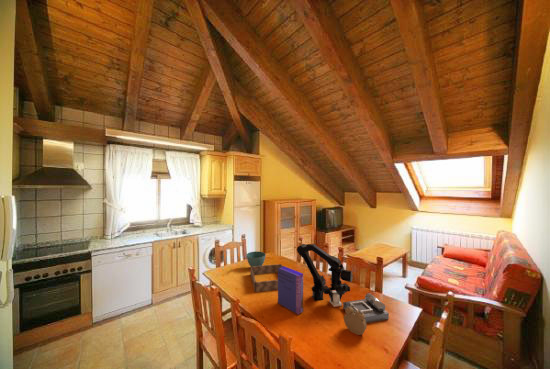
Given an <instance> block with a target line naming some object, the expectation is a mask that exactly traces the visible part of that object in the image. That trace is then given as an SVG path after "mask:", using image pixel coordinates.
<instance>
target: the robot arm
mask: <svg viewBox="0 0 550 369" xmlns="http://www.w3.org/2000/svg"><path fill="white" fill-rule="evenodd" d="M311 251H312V252H313V253H314V254H316V255H317V256H318V257H320V259H321V258H322V259H323V260H324V261H325V262H326V263H327V264H328V266H329V268H328V271H330V272H331V273H330V274H331V275H330V278H329V279H330V284H329V285H330V287H329V286H328V285H326V284H327V281H326V279H325V277H324V275H323V274H322V275H320V273H319V271H318V270H317V267H316V266H315V264H314V261H313V260H312V258H311V256H310V252H311ZM296 252H297V253H298V256H300V257H301V258H302V259H303V260H304V262H305V264H306V266H307V268H308V271H309V272H310V275H311V276H312V279H313V280H312V281H313V286H312V287H311V291H312V295H311V298H312V299H313V300H314V302H317V301H324V295H328V296H329V298H330V299H329V300H331V302H333V293H332V291H336V292H337V294H338V295H340V301H341V300H342V297H343V295H345V293H347V292H351V286H350V285H348V284H347V283H345V282H350V283H352V281H353V276H354V275H353V272H352V270H348V269H345V267H344V266H343V264H342V261H341V259H339V257H337V256H333V255H330V254H329V253H327V252H326V251H325V250H324V249H322V248H320V246H317V245H316V244H315V243H306V244H305V243H301V244H300V245H298V246H297V247H296ZM342 281H345V282H344V283H342Z"/></svg>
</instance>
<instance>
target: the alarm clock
mask: <svg viewBox="0 0 550 369" xmlns="http://www.w3.org/2000/svg"><path fill="white" fill-rule="evenodd" d="M350 306H353V307H355V308H357V309H358V311H355V310H354V309H353V308H352V307H350ZM350 306H349V307H348V306H347V308H346V309H345V310H344V312H345V314H344V317H343V322H344V325H345V326H346V328H347V329H348V330H349V331H350V332H351V333H353V334H355V335H357V336H363V334H364V333H365V331H366V329H367V328H368V327H367V326H368V325H367V324H368V323H366V321H365V319H364V318H365V315H364V313H363V312H362V311H360V309H359V308H358V307H357V306H355V305H350Z"/></svg>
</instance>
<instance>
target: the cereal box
mask: <svg viewBox="0 0 550 369" xmlns="http://www.w3.org/2000/svg"><path fill="white" fill-rule="evenodd" d="M277 280H278V290H277V304H279V305H280V306H282V307H284V308H285V309H287V310H289V311H291V312H292V313H295V314H297V315H300V314H302V313H303V312H304V273H302V272H299V271H297V270H295V269H292V268H290V267H287V266H284V265H282V266H281V267H279V268H278V272H277Z"/></svg>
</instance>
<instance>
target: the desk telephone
mask: <svg viewBox="0 0 550 369" xmlns="http://www.w3.org/2000/svg"><path fill="white" fill-rule="evenodd" d="M350 305H355V306H357V307H358V308H359V309H360V311H362V312H363V313H364V315H365V318H364V319H365V321H366V324H371V323H377V322H382V321H387V320H389V318H390V317H389V312H388V311H387V310H386V304H385V303H383V302H382V301H381V300H380V299H378V298H377V297H376V296H374V295H373V294H372V293H371V292H367V293H366V294H365V295H364V299H357V300H351V301H349V300H348V301H344V302H343V303H342V308H343V310H344V311H345V309H346V308H347V306H348V307H349V306H350ZM350 307H352V308H353V309H354V310H355V311H358V309H357V308H355V307H353V306H350Z"/></svg>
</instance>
